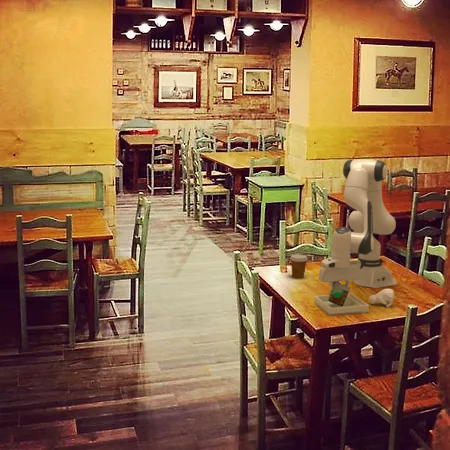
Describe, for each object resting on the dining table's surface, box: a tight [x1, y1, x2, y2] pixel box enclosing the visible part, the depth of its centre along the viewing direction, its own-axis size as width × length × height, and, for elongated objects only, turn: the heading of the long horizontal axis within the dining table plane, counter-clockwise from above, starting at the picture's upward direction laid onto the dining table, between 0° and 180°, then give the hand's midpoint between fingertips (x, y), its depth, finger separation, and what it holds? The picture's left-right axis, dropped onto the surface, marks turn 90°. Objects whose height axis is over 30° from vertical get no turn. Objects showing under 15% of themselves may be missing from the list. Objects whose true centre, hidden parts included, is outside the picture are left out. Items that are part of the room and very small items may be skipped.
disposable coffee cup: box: [289, 253, 308, 280], centre depth 381 cm, size 10×10×12 cm
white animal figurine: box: [368, 288, 395, 308], centre depth 339 cm, size 6×8×12 cm
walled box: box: [314, 293, 370, 316], centre depth 334 cm, size 20×18×4 cm
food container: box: [328, 281, 351, 307], centre depth 331 cm, size 12×6×10 cm, turn 19°
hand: (338, 289), depth 332 cm, fingers closed on food container, 5 cm apart
